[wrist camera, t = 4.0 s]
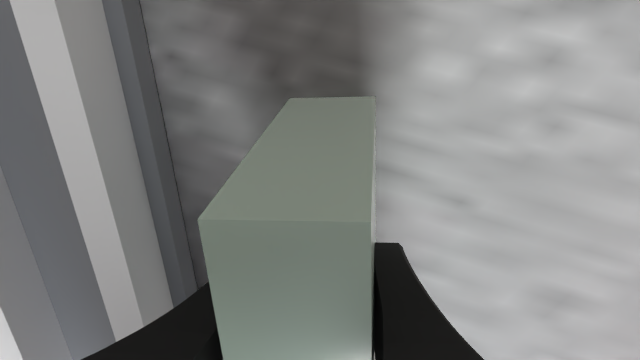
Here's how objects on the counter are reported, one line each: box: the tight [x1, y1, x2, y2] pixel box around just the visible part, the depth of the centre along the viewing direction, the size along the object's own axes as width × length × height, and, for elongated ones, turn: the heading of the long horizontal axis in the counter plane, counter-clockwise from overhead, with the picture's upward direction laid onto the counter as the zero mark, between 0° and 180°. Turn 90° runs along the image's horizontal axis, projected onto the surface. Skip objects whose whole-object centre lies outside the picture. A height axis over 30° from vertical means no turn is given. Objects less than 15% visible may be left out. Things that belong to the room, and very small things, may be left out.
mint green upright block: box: [197, 96, 376, 360], centre depth 11 cm, size 8×2×7 cm, turn 3°
